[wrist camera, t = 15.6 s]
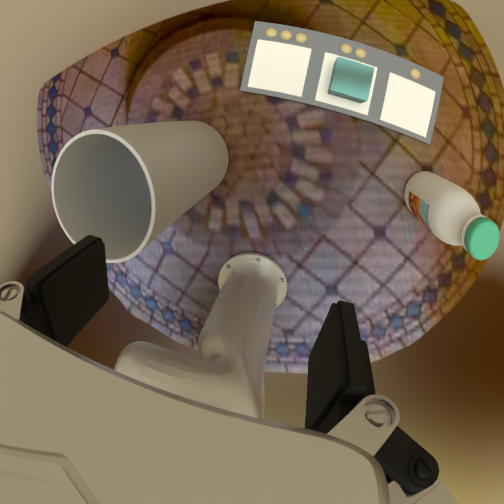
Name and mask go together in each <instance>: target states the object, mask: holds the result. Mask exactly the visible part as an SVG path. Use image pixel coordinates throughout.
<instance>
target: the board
mask: <svg viewBox="0 0 504 504" xmlns="http://www.w3.org/2000/svg"><path fill="white" fill-rule="evenodd" d="M337 57H342V58H345V59H348V60H352V61H355V62H358V63H361V64H365V65H368V66H371V67H373V68H374V73H373V78H372V83H371V87H370V92H369V97H368V101H367V102H363V103H357V102H354V101H351V100H347V99H344V98H341V97H337V96H334V95H330V94H327V93H328V89H329V84H330V79H331V75H332V70H333V65H334V62H335V61H336V59H337ZM443 78H444V77H443V76H441V75H439V74H437V73H435V72H433V71H430V70H428V69H426V68H424V67H422V66H420V65H417V64H415V63H413V62H410V61H408V60H406V59H403V58H401V57H398V56H396V55H393V54H390V53H388V52H385V51H382V50H379V49H377V48H374V47H371V46H368V45H365V44H362V43H358V42H355V41H352V40H348V39H345V38H341V37H337V36H334V35H330V34H326V33H321V32H317V31H313V30H308V29H303V28H298V27H292V26H286V25H280V24H274V23H266V22H258V21H255V24H254V29H253V33H252V37H251V42H250V46H249V51H248V55H247V60H246V64H245V69H244V74H243V79H242V83H241V88H240V91H242V92H249V93H255V94H261V95H266V96H272V97H277V98H282V99H286V100H291V101H296V102H300V103H304V104H308V105H313V106H317V107H320V108H324V109H328V110H332V111H335V112H339V113H342V114H346V115H349V116H352V117H355V118H359V119H362V120H365V121H368V122H371V123H374V124H377V125H380V126H383V127H385V128H388V129H391V130H394V131H396V132H399V133H401V134H404V135H407V136H409V137H412V138H414V139H416V140H419V141H421V142H424V143H426V144H429V145H430V141H431V137H432V133H433V129H434V125H435V120H436V116H437V111H438V106H439V101H440V95H441V90H442V84H443Z"/></svg>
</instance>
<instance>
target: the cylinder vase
mask: <svg viewBox="0 0 504 504" xmlns="http://www.w3.org/2000/svg"><path fill="white" fill-rule="evenodd" d="M228 162H229V155H228V149H227V146H226V143H225V141H224V139H223V138H222V136H221V135H220V134H219V132H218V131H217V130H215V129H214V128H213V127H211V126H210V125H208V124H206V123H203V122H200V121H172V122H157V123H145V124H134V125H125V126H117V127H109V128H102V129H95V130H89V131H85V132H82V133H80V134H78V135H76V136H75V137H73V138H72V139H71V140H70V141H69V142H68V143H67V144H66V145H65V146H64V147H63V149H62V150H61V152H60V154H59V156H58V158H57V160H56V163H55V166H54V170H53V175H52V199H53V204H54V209H55V212H56V215H57V218H58V220H59V222H60V225H61V226H62V228H63V230H64V232H65V233H66V235H67V236H68V238H69V239H70V240H71V241H72V243H73V244H75V243H77V242H78V241H80V240H81V239H83V238H84V237H86V236H87V235H93V236H97V237H100V238H101V239H102V241H103V242H104V244H105V254H106V262H107V263H119V262H123V261H126V260H129V259H131V258H132V257H134V256H135V255H137V254H138V253H139V252H140V251H141V250H142V249H143V248H145V247H146V246H147V245H148V244H149V243H150V242H151V241H152V240H154V239H155V238H156V237H157V236H158V235H159V234H160V233H162V232H163V231H164V230H165V229H166V228H167V227H169V226H170V225H171V224H172V223H173V222H174V221H176V220H177V219H178V218H179V217H180V216H181V215H183V214H184V213H185V212H186V211H187V210H189V209H190V208H191V207H192V206H194V205H195V204H196V203H197V202H198V201H200V200H201V199H202V198H203V197H205V196H206V195H207V194H208V193H210V192H211V191H212V190H213V189H215V188H216V187H217V186H218V185H219V184H220V183H221V181H222V180H223V178H224V176H225V174H226V171H227V168H228Z"/></svg>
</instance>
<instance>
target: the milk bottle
mask: <svg viewBox="0 0 504 504" xmlns="http://www.w3.org/2000/svg"><path fill="white" fill-rule="evenodd" d="M404 199H405V203H406V206H407V207H408V209H409V210H410V211H411V212H412V213H413V214H414V215H415V216H416V217H417V218H418V219H419V220H420V221H421V222H422V223H423V224H424V225H425V226H426V227H427V228H428V229H429V230H430V231H431V232H432V233H433V234H434V235H435V236H437V237H438V238H439V239H440V240H442V241H444V242H446V243H448V244H451V245H462V246H463V247H464V248H465V250H466V251H468V253H469V254H470V255H471V256H472V257H474V258H475V259H478V260H484V259H487V258H488V257H490V256H491V255H492V254H493V253H494V252H495V250H496V248H497V246H498V243H499V237H500V234H499V229H498V227H497V225H496V224H495V223H494V222H493V221H492V220H490V219H488V218H487V217H486V216H484V215H481V213H480V210H479V207H478V205H477V203H476V201H475V200H474V198H473V197H472V196H471V195H470V194H469V193H468V192H467V191H465V190H464V189H462V188H461V187H459V186H457V185H456V184H454V183H452V182H450V181H448V180H446V179H444V178H442V177H440V176H438V175H436V174H434V173H431V172H428V171H421V172H418V173H416V174H414V175H413V176H412V177H411V178H410V179H409V180H408V182H407V184H406V186H405V190H404Z"/></svg>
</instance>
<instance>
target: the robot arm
mask: <svg viewBox="0 0 504 504" xmlns="http://www.w3.org/2000/svg"><path fill="white" fill-rule="evenodd" d="M257 257H259V258H257ZM25 282H26V285H27V287H26V288H25V289H24V287H23V285H22V284H21V283H19V282H15V281H11V282H6V283H4V284H2V285H0V504H457V502H456V500H455V499H454V497H453V496H452V494H451V493H450V491H449V490H448V488H447V487H446V485H445V484H444V482H441V483H439V481H438V480H437V478H438V474H439V468H438V464H437V461H436V460H435V458H434V457H433V456H432V455H431V454H429V453H428V452H427V451H426V450H425V449H424V448H422V447H421V446H420V445H419V444H418V443H417V442H415V441H414V440H413V439H412V438H411V437H410V436H408V435H407V434H406V433H405V432H404V431H403V430H401V429H400V428H399V427H398V426H397V425H398V422H399V416H400V415H399V411H398V408H397V407H396V405H395V404H394V403H393V402H392V401H391V400H390V399H388V398H386V397H385V396H381V395H376V394H375V388H374V381H373V375H372V369H371V364H370V358H369V353H368V348H367V344H366V342H365V341H363V340H361V338H360V333H359V327H358V322H357V317H356V312H355V307H354V304H353V303H348V302H344V301H338V302H337V304H335V303H333V304H332V305H331V307H330V310H329V312H328V315H327V317H326V319H325V321H324V324H323V326H322V328H321V331H320V333H319V335H318V337H317V339H316V342H315V344H314V346H313V348H312V350H311V353H310V355H309V360H308V383H307V403H306V419H305V428H301V427H296V426H292V425H287V424H282V423H278V422H273V421H268V420H264V419H263V415H264V371H265V363H266V357H267V352H268V346H269V340H270V335H271V329H272V323H273V318H274V312H275V308H277V307H278V306H279V305H280V304H281V303H282V302H283V300H284V298H285V296H286V293H287V286H288V283H287V277H286V275H285V272H284V270H283V269H282V267H281V266H280V265H279V264H278V263H277V262H276V261H275V260H273V259H272V258H270V257H268V256H266V255H263V254H260V253H255V252H244V253H240V254H237V255H235V256H233V257H231V258H230V259H228V260H227V261H226V262H225V264H224V265H223V267H222V268H221V270H220V273H219V277H218V286H219V289H220V292H219V294H218V296H217V299H216V301H215V303H214V305H213V307H212V309H211V311H210V313H209V315H208V317H207V320H206V322H205V324H204V326H203V328H202V330H201V333H200V336H199V341H198V348H199V354H200V358H197V357H192V356H189V355H186V354H183V353H180V352H177V351H174V350H171V349H168V348H165V347H162V346H158V345H156V344H152V343H149V342H143V341H138V342H133V343H131V344H130V345H128V346H127V347H126V348H125V349H124V350H123V351H122V353H121V355H120V356H119V358H118V360H117V363H116V366H115V369H114V370H112V369H110V368H108V367H106V366H104V365H101V364H99V363H97V362H95V361H93V360H91V359H89V358H87V357H85V356H82V355H81V354H79V353H77V352H75V351H73V350H71V349H69V348H67V345H68V344H69V343H70V342H71V341H72V340H73V339H74V337H75V336H76V335H77V334H78V332H80V331H81V329H82V328H83V327H84V326H85V325H86V324H87V323H88V322H89V321H90V319H91V318H92V317H93V316H94V315H95V314H96V313H97V312H98V311H99V310H100V309H101V307H102V306H103V305H104V304H105V303H106V302H107V300H108V297H109V290H108V280H107V268H106V254H105V244H104V242H103V241H102V239H101V238H100V237H97V236H93V235H87V236H86V237H84V238H83V239H81V240H80V241H78V242H77V243H75V244H74V245H72V246H71V247H70V248H68V249H67V250H65V251H64V252H63V253H61V254H60V255H58V256H57V257H55V258H54V259H53V260H51V261H50V262H49V263H47V264H46V265H44V266H43V267H42V268H40V269H39V270H38V271H36V272H35V273H34V274H32V275H31V276H30V277H29V278H27V279H26V280H25Z"/></svg>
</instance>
